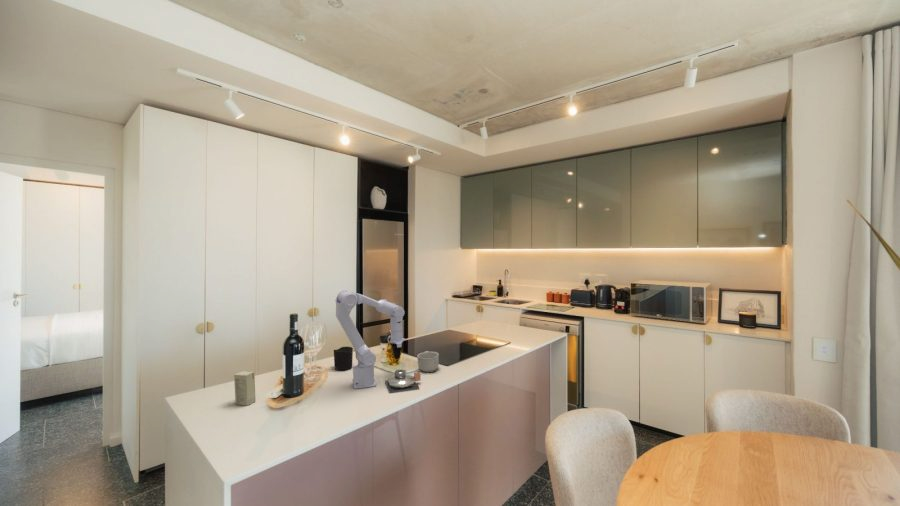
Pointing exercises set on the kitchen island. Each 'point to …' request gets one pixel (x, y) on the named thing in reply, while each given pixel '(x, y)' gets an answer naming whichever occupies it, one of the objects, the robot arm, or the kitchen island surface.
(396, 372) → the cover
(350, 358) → the pen holder
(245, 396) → the skincare box
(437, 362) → the teacup
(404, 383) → the turntable
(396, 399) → the kitchen island surface
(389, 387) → the turntable base
